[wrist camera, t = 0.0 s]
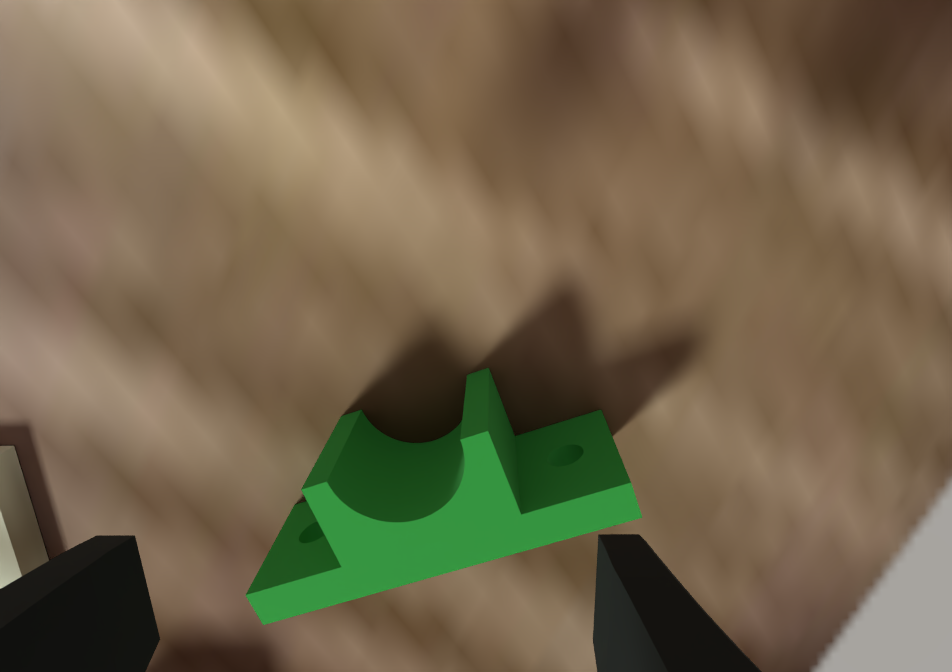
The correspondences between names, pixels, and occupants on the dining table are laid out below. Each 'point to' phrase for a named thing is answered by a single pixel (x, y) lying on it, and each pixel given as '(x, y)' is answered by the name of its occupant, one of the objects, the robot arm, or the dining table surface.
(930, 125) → the dining table surface
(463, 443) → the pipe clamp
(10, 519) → the board
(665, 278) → the dining table surface
